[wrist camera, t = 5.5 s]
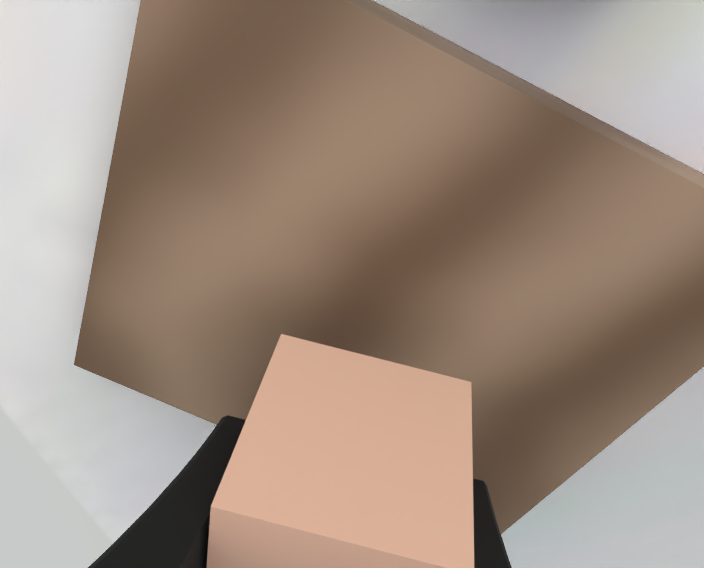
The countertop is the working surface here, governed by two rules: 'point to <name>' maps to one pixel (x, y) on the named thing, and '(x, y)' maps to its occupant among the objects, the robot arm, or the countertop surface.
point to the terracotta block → (348, 467)
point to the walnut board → (389, 231)
